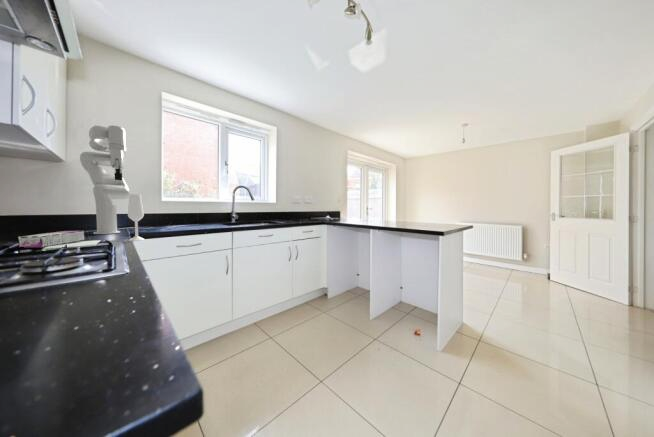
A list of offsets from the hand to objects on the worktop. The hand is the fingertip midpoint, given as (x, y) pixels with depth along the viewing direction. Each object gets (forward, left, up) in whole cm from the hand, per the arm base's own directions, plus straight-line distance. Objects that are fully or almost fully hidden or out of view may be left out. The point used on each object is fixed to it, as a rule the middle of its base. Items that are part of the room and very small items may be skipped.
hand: (118, 179), depth 136 cm
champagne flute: (+24, +8, -33) cm, 42 cm away
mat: (+28, -14, -33) cm, 46 cm away
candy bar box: (+17, -16, -30) cm, 38 cm away
